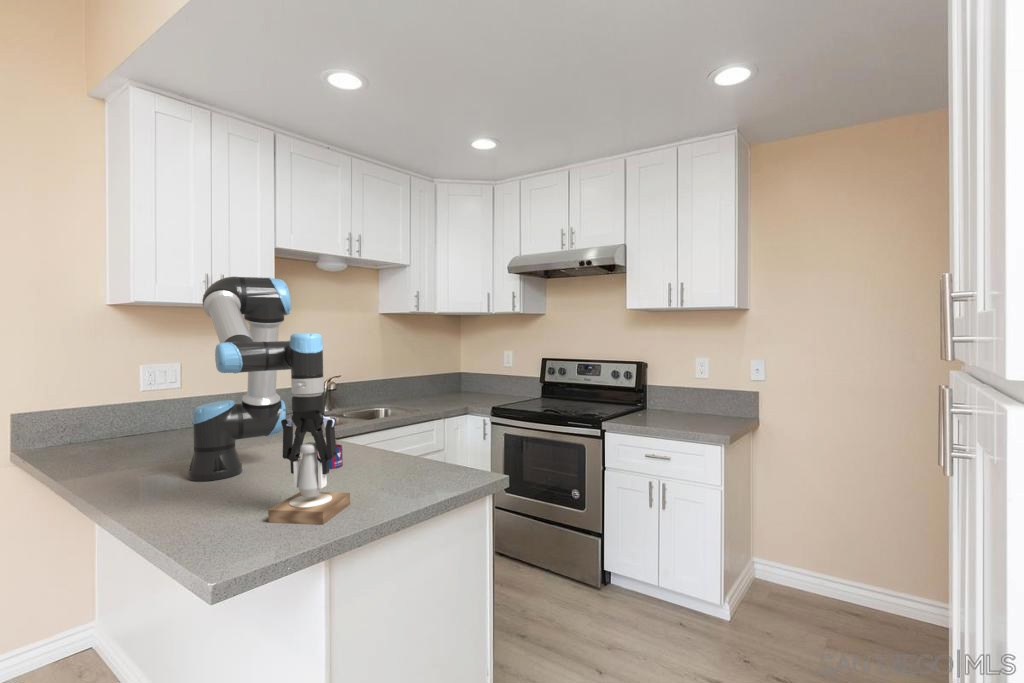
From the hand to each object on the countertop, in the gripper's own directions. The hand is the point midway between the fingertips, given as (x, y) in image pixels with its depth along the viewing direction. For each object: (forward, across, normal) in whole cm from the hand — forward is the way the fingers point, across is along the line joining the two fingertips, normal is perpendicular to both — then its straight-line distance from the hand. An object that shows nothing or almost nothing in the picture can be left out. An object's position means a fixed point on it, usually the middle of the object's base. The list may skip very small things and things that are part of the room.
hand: (310, 486), depth 129 cm
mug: (+7, -18, +43) cm, 47 cm away
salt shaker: (+2, 0, 0) cm, 2 cm away
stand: (+7, 0, 0) cm, 7 cm away
